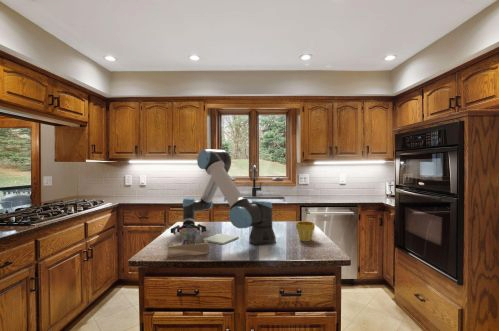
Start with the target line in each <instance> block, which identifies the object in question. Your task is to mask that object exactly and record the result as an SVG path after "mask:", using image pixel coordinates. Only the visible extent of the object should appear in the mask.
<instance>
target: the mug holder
mask: <svg viewBox="0 0 499 331" xmlns="http://www.w3.org/2000/svg"><path fill="white" fill-rule="evenodd" d="M167 248H168V251H167V252H168V253H167V254H168V258H172V257H185V256H196V255H208V254H210V242H207V241H204V243H203V242H202V243H196V244H187V245H182V244H175V245H174V243H173V242H170V245H168V246H167Z"/></svg>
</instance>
